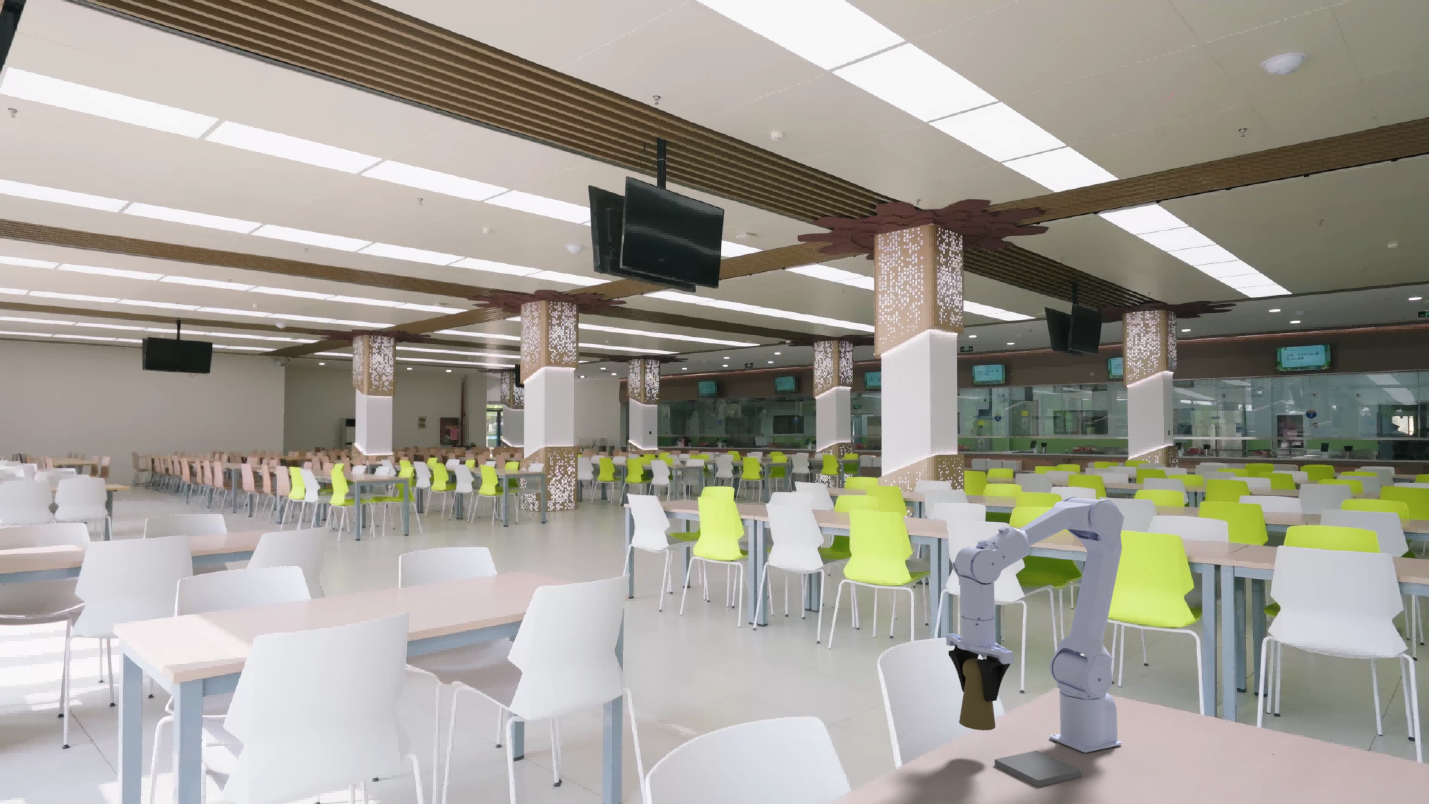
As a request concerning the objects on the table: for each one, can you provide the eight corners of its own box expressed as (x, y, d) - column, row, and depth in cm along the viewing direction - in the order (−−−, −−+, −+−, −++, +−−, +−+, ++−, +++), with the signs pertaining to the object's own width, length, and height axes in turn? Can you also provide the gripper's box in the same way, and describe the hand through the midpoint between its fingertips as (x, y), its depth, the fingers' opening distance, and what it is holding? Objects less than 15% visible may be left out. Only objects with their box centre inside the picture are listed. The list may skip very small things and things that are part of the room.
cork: (997, 732, 137) (998, 666, 138) (960, 728, 138) (961, 662, 139) (993, 720, 143) (994, 657, 143) (957, 716, 144) (959, 654, 145)
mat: (1036, 756, 140) (1036, 750, 140) (1082, 776, 131) (1082, 770, 132) (994, 765, 136) (994, 759, 136) (1038, 787, 128) (1038, 780, 128)
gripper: (932, 611, 147) (933, 687, 146) (989, 627, 133) (991, 711, 133) (962, 607, 149) (964, 682, 149) (1022, 623, 136) (1024, 705, 136)
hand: (979, 696), depth 141 cm, fingers closed on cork, 5 cm apart
